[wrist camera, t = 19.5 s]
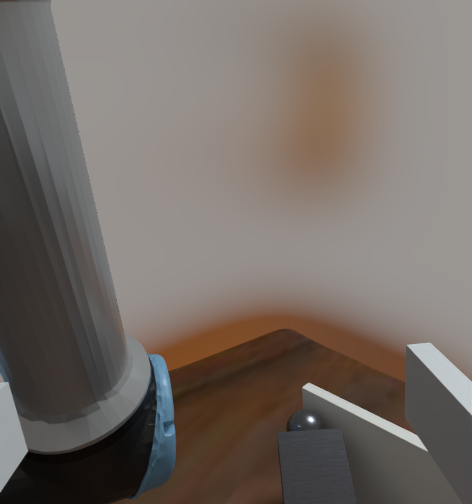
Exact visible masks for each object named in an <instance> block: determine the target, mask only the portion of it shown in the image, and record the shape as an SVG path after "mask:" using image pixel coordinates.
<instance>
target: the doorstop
mask: <svg viewBox="0 0 472 504" xmlns="http://www.w3.org/2000/svg"><path fill="white" fill-rule="evenodd" d="M277 433H278V454H279V464H280V474H281V485H282V495H283V504H357V500H356V496H355V491H354V486H353V482H352V477H351V472H350V468H349V463H348V458H347V454H346V449H345V444H344V440H343V435H342V430H341V428H338V429H326V427H325V424H324V421H323V420H322V418H321V417H320V416H319V415H318V414H317V413H315V412H314V411H311V410H308V409H302V410H298V411H296V412H295V413H293V414H292V415H291V417H290V418H289V420H288V423H287V432H277Z"/></svg>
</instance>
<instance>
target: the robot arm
mask: <svg viewBox="0 0 472 504" xmlns="http://www.w3.org/2000/svg"><path fill="white" fill-rule="evenodd" d="M50 4H51V0H0V374H1V376H2V377H3V380H4V381H5V382H3V383H0V504H109V503H112V502H116V501H119V500H122V499H125V498H128V499H134V498H137V497H138V496H139V495H140V494H141V493H143V492H146V491H148V490H151V489H153V488H156V487H159V486H161V485H163V484H164V483H165V482H167V480H168V479H169V478H170V476H171V475H172V472H173V470H174V465H175V457H176V436H175V427H174V424H173V423H174V407H173V398H172V391H171V384H170V379H169V374H168V370H167V366H166V363H165V360H164V359H163V357H161V356H160V355H156V354H154V355H151V354H148V353H146V351H145V349H144V348H143V346H142V345H141V344H140V343H139V342H138V341H137V340H136V339H135V338H133V337H132V336H130V335H128V334H126V333H124V330H123V326H122V321H121V317H120V313H119V308H118V304H117V299H116V295H115V290H114V286H113V281H112V277H111V273H110V268H109V264H108V259H107V255H106V250H105V246H104V242H103V237H102V233H101V228H100V224H99V220H98V215H97V211H96V207H95V202H94V198H93V193H92V189H91V184H90V180H89V175H88V172H87V167H86V162H85V158H84V153H83V149H82V145H81V140H80V136H79V131H78V127H77V123H76V118H75V113H74V109H73V105H72V101H71V96H70V92H69V87H68V82H67V78H66V74H65V69H64V65H63V60H62V56H61V52H60V47H59V43H58V38H57V34H56V30H55V25H54V21H53V16H52V12H51V7H50ZM405 418H406V419H407V421H408V422H409V424H410V425H411V427H412V428H413V430H414V431H415V433H416V434H417V436H418V437H419V439H420V440H421V442H422V443H423V445H424V446H425V448H426V449H427V451H428V452H429V454H430V455H431V457H432V458H433V460H434V461H435V463H436V464H437V466H438V467H439V469H440V470H441V472H442V473H443V475H444V476H445V478H446V479H447V481H448V482H449V484H450V485H451V487H452V488H453V490H454V491H455V493H456V494H457V496H458V497H459V499H460V500H461V502H462V503H463V504H472V382H471V381H470V380H469V379H468V378H467V377H466V376H465V375H464V374H463V373H462V372H460V371H459V370H458V369H457V368H456V367H455V366H454V365H453V364H452V363H451V362H450V361H449V360H448V359H447V358H446V357H445V356H443V354H441V353H440V352H439V351H438V350H437V349H436V348H435V347H434V346H433V345H432V344H431V343H422V344H410V345H407V347H406V385H405Z"/></svg>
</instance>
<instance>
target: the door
mask: <svg viewBox="0 0 472 504" xmlns="http://www.w3.org/2000/svg"><path fill="white" fill-rule="evenodd" d="M302 394H303V409H308V410H311V411H314V412H315V413H317V414H318V415H319V416H320V417H321V418H322V420H323V421H324V424H325V427H326V429H338V428H341V430H342V435H343V440H344V444H345V449H346V454H347V458H348V463H349V468H350V472H351V477H352V482H353V486H354V491H355V496H356V500H357V504H463V503H462V502H461V500H460V499H459V497H458V496H457V494H456V493H455V491H454V490H453V488H452V487H451V485H450V484H449V482H448V481H447V479H446V478H445V476H444V475H443V473H442V472H441V470H440V469H439V467H438V466H437V464H436V463H435V461H434V460H433V458H432V457H431V455H430V454H429V452H428V451H427V449H426V448H425V446H424V445H423V443H422V442H421V440H420V439H419V437H418V436H417V435H415V434H413V433H411V432H409V431H407V430H405V429H403V428H401V427H399V426H397V425H395V424H393V423H391V422H389V421H386V420H384V419H382V418H380V417H378V416H376V415H374V414H372V413H370V412H368V411H366V410H364V409H362V408H360V407H358V406H356V405H354V404H352V403H350V402H348V401H346V400H343V399H341V398H339V397H337V396H335V395H333V394H331V393H329V392H327V391H325V390H323V389H321V388H319V387H317V386H315V385H313V384H311V383H308V384H306V385H305V386H304V387H302Z"/></svg>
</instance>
